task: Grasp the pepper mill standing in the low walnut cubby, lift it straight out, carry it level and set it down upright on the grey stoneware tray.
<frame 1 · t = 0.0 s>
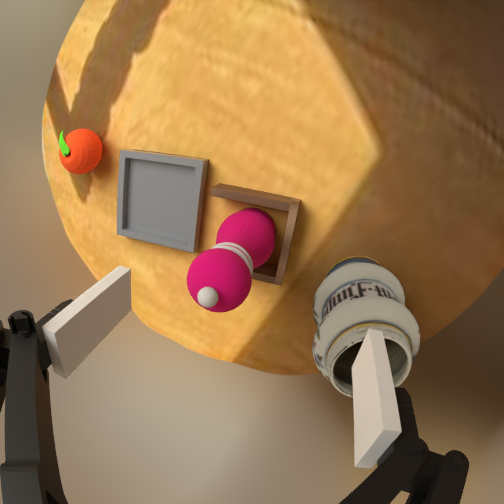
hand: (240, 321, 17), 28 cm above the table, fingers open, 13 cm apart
pepper mill: (253, 229, 45), on the table
tray: (161, 197, 45), on the table
apothecary jar: (356, 286, 45), on the table
clementine: (93, 146, 45), on the table
cubby: (252, 229, 44), on the table
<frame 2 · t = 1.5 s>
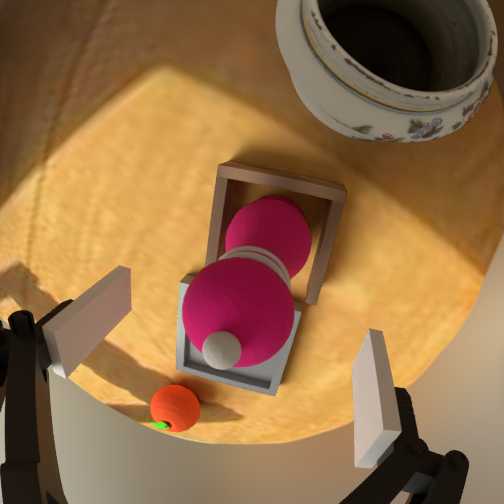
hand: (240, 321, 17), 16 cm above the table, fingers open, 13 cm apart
pepper mill: (275, 226, 32), on the table
tray: (235, 335, 37), on the table
apothecary jar: (359, 76, 25), on the table
clementine: (181, 391, 43), on the table
cubby: (274, 226, 32), on the table
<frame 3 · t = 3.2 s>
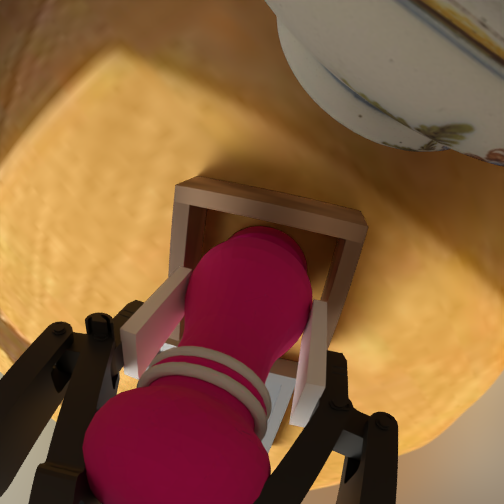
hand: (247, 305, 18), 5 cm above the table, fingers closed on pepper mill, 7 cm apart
pepper mill: (262, 267, 23), on the table, touching gripper
tray: (215, 394, 28), on the table
apothecary jar: (384, 54, 16), on the table
cubby: (262, 268, 23), on the table
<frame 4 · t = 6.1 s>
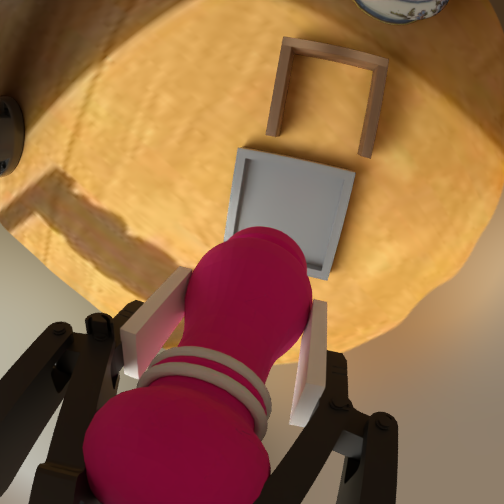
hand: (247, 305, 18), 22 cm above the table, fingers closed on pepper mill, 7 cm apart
pepper mill: (262, 267, 23), point 16 cm above the table, touching gripper
tray: (286, 211, 38), on the table
cubby: (327, 97, 32), on the table
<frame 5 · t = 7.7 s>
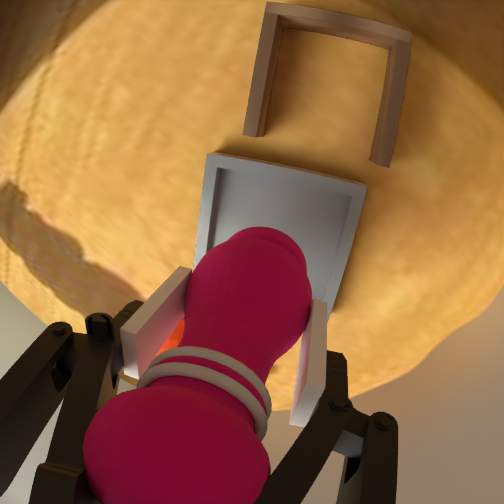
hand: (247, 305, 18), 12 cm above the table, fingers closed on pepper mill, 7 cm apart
pepper mill: (262, 267, 23), point 7 cm above the table, touching gripper
tray: (274, 236, 29), on the table
clementine: (195, 335, 35), on the table
cubby: (328, 84, 23), on the table
when the fingers open (7 cm above the table, at t = 9.1 s): pepper mill drops 1 cm, resting on tray.
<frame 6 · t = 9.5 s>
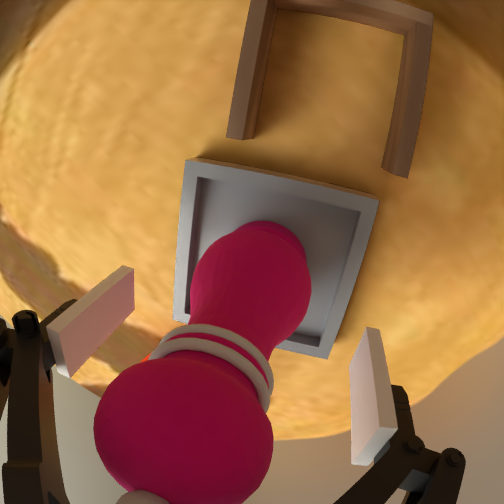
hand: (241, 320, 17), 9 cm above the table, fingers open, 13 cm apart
pepper mill: (264, 260, 24), point 1 cm above the table, touching tray
tray: (267, 258, 24), on the table
cubby: (332, 75, 19), on the table
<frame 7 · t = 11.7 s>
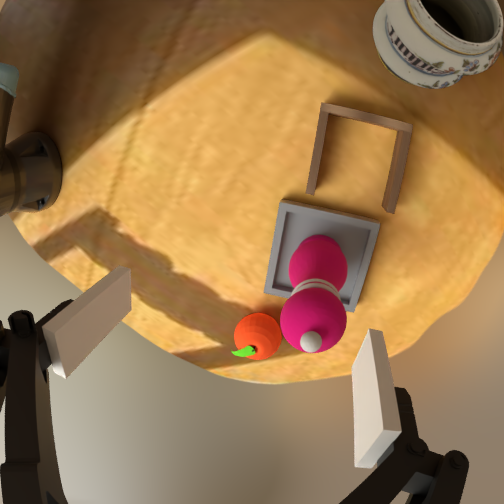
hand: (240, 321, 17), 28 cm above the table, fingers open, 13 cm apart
pepper mill: (319, 256, 43), point 1 cm above the table, touching tray
tray: (320, 254, 43), on the table
apothecary jar: (411, 50, 31), on the table
clementine: (259, 324, 50), on the table
cubby: (357, 156, 38), on the table
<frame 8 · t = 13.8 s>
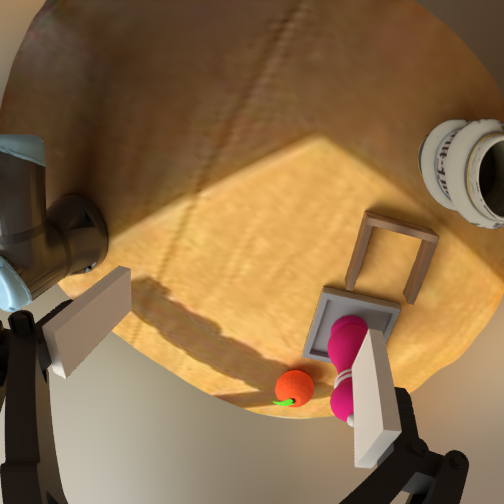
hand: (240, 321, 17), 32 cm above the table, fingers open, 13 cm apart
pepper mill: (349, 330, 51), point 1 cm above the table, touching tray
tray: (349, 328, 51), on the table
apothecary jar: (446, 160, 39), on the table
clementine: (294, 376, 57), on the table
cubby: (388, 254, 45), on the table
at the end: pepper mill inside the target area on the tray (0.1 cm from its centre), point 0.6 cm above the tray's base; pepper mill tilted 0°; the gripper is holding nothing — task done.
